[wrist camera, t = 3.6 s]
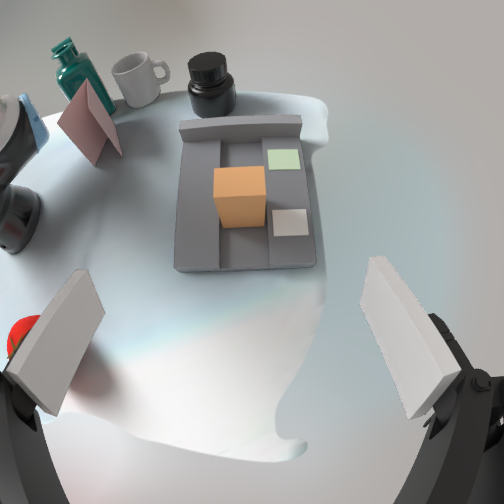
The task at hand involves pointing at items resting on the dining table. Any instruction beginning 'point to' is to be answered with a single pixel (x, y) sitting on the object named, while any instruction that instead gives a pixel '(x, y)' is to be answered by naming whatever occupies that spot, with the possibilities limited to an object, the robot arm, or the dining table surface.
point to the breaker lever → (240, 196)
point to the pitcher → (78, 73)
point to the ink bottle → (211, 85)
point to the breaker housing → (277, 195)
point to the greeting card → (88, 123)
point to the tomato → (19, 333)
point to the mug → (139, 78)
